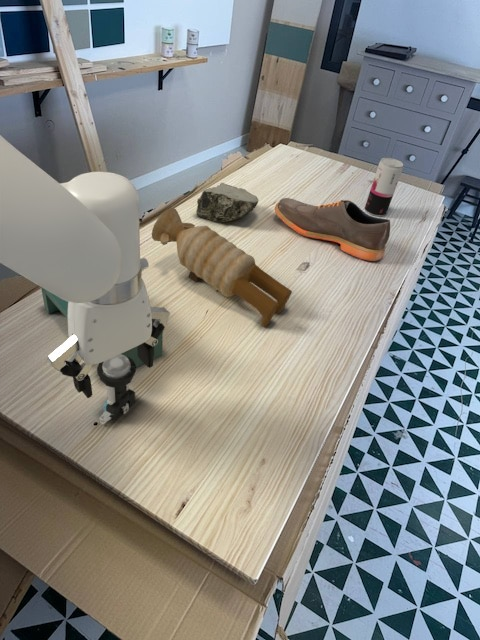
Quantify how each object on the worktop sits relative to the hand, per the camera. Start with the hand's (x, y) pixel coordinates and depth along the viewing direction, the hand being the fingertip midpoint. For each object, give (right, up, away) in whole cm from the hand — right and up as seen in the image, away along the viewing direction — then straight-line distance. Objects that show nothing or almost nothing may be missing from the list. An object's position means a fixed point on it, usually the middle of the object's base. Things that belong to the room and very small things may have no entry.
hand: (116, 375), depth 67 cm
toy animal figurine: (+13, +14, +32) cm, 37 cm away
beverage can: (+58, +40, +71) cm, 100 cm away
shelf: (-7, +6, +17) cm, 20 cm away
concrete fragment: (+14, +35, +57) cm, 69 cm away
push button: (-1, -6, +5) cm, 8 cm away
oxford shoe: (+40, +30, +56) cm, 75 cm away
